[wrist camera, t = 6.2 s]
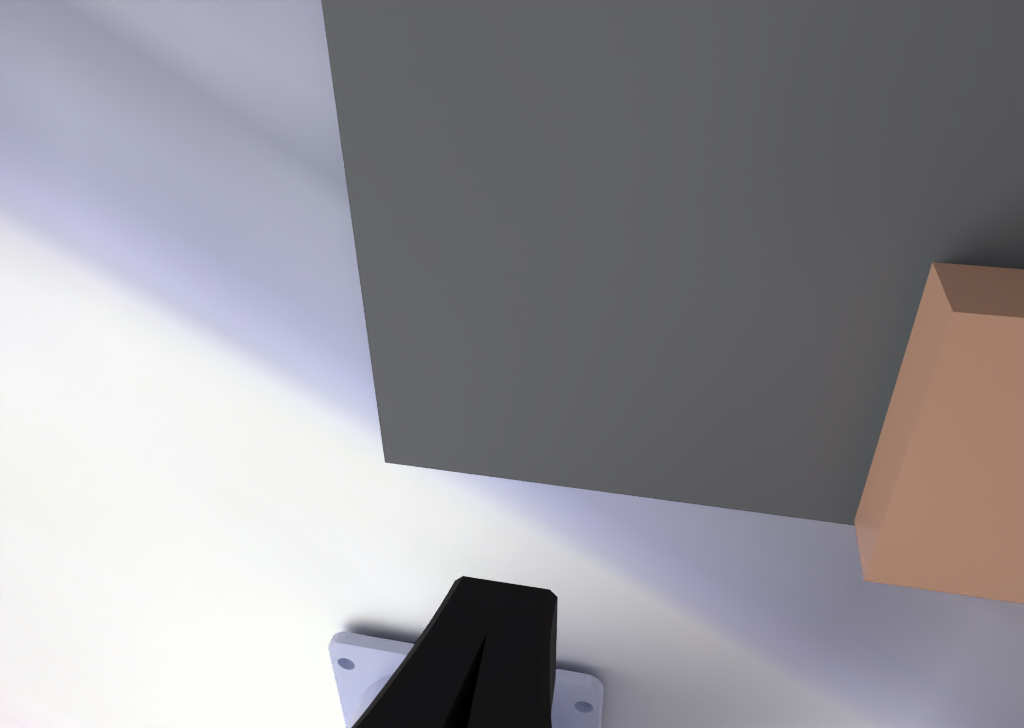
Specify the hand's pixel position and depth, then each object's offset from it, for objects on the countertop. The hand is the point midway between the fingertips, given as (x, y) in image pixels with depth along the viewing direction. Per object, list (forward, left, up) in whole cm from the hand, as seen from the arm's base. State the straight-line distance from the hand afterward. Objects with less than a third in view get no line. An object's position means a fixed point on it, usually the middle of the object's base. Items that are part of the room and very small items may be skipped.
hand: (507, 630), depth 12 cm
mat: (+3, -4, -7) cm, 8 cm away
